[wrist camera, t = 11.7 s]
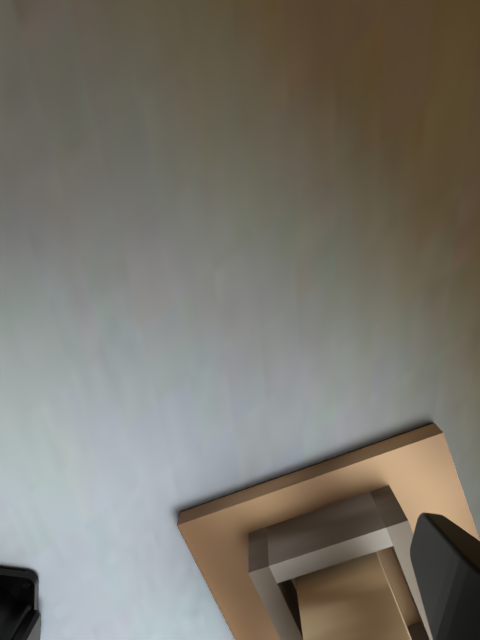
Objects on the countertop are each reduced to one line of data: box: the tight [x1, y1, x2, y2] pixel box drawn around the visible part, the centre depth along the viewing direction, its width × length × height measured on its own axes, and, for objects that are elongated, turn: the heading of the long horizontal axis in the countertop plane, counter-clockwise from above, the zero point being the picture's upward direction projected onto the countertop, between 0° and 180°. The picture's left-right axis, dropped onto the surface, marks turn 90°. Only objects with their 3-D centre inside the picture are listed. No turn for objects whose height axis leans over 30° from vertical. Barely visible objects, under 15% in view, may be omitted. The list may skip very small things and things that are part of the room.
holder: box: [177, 423, 480, 640], centre depth 21 cm, size 14×13×4 cm
